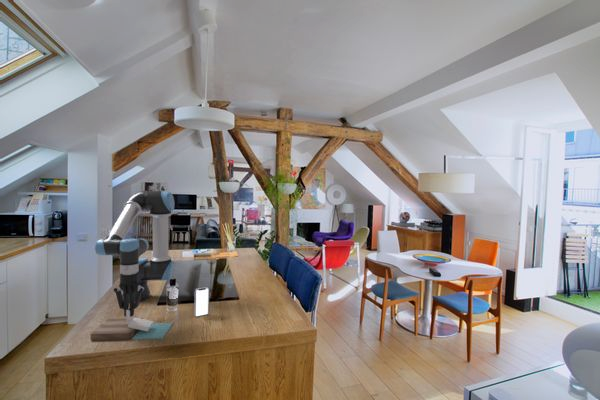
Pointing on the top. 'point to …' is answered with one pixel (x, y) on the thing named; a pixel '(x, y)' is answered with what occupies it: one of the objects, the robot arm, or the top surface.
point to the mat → (154, 331)
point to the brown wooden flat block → (113, 330)
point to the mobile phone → (201, 302)
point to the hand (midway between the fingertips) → (129, 322)
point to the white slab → (140, 324)
